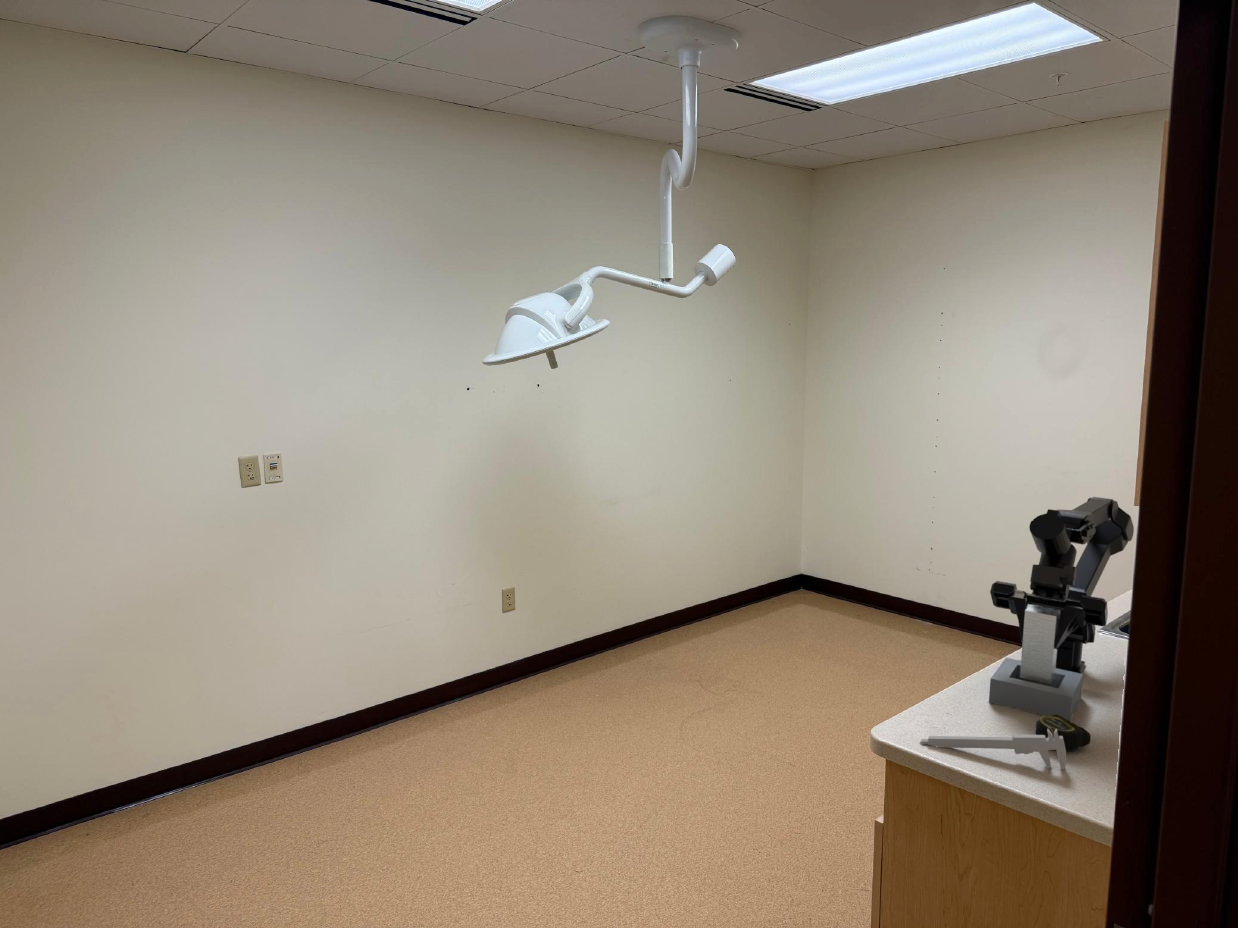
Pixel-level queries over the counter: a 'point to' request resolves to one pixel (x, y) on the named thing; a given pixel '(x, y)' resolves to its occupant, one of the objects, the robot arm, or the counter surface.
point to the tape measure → (1064, 731)
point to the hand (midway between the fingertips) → (1038, 644)
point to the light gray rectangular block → (1039, 644)
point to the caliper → (1007, 744)
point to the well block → (1036, 691)
